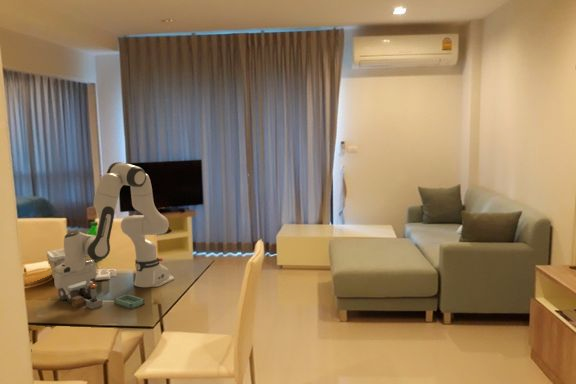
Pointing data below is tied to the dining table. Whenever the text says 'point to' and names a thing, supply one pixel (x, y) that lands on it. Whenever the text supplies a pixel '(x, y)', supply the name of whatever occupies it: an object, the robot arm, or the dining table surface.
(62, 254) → the storage basket
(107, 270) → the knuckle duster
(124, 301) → the tray
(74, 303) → the block
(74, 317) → the dining table surface
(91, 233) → the plastic bottle
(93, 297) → the pin
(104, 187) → the robot arm
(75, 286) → the trolley
